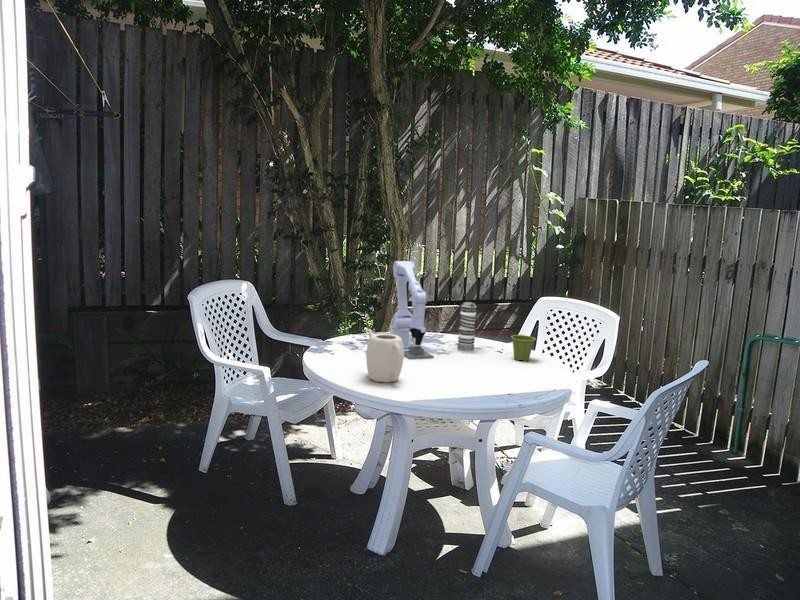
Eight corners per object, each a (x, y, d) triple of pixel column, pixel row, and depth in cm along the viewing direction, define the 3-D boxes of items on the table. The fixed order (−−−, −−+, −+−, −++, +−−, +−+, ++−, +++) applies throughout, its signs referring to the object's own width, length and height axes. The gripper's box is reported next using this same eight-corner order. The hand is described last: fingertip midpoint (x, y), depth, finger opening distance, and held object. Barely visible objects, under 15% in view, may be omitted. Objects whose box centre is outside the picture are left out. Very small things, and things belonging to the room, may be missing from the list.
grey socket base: (398, 352, 346) (399, 343, 346) (422, 351, 351) (423, 343, 351) (408, 359, 335) (409, 349, 334) (433, 358, 339) (434, 348, 339)
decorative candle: (453, 349, 361) (456, 301, 357) (469, 348, 365) (472, 301, 361) (461, 353, 353) (465, 304, 349) (477, 352, 356) (481, 304, 352)
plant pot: (507, 360, 343) (509, 338, 341) (511, 355, 354) (513, 333, 352) (531, 363, 339) (533, 341, 337) (535, 358, 350) (537, 336, 348)
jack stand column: (412, 351, 343) (413, 337, 342) (417, 351, 345) (418, 337, 343) (414, 353, 341) (415, 338, 340) (420, 352, 342) (421, 338, 341)
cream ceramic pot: (381, 369, 313) (383, 328, 310) (414, 385, 291) (417, 340, 288) (350, 372, 304) (352, 330, 301) (382, 389, 282) (385, 343, 279)
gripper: (405, 314, 345) (403, 341, 347) (416, 319, 332) (415, 347, 334) (418, 313, 348) (416, 340, 350) (430, 319, 334) (428, 347, 337)
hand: (416, 344), depth 342 cm, fingers closed on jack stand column, 3 cm apart
